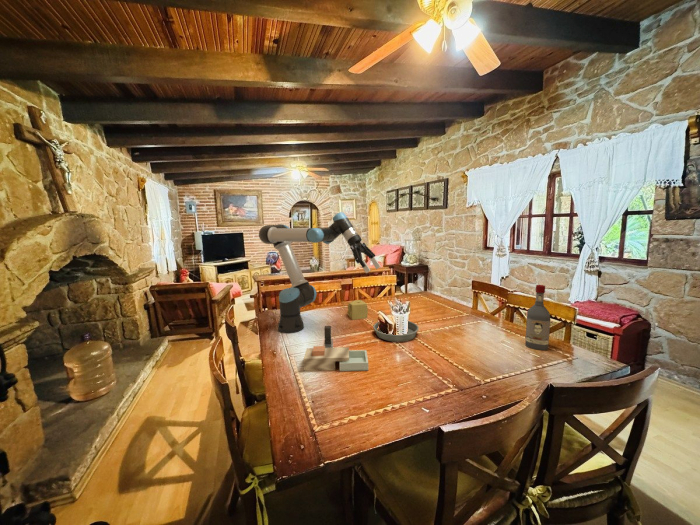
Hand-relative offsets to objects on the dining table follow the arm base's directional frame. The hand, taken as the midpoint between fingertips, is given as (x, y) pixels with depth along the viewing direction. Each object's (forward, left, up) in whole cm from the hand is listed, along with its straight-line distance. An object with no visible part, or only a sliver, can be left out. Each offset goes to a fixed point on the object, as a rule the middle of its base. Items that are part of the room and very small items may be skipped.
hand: (373, 269), depth 155 cm
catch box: (-12, -34, -36) cm, 51 cm away
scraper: (-24, -20, -36) cm, 48 cm away
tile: (-27, -34, -30) cm, 53 cm away
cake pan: (+12, -1, -36) cm, 38 cm away
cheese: (-8, +29, -36) cm, 47 cm away
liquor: (+77, -21, -36) cm, 87 cm away
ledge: (-24, -34, -36) cm, 55 cm away
